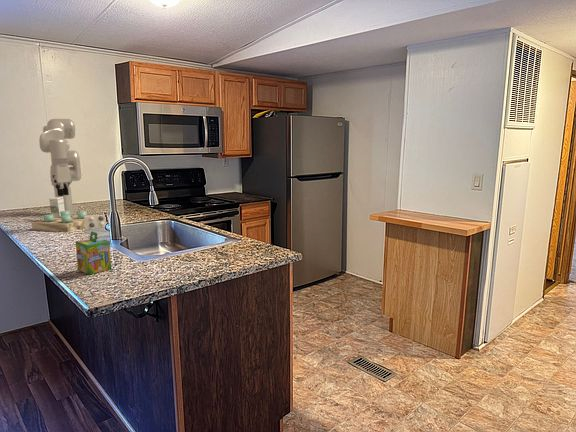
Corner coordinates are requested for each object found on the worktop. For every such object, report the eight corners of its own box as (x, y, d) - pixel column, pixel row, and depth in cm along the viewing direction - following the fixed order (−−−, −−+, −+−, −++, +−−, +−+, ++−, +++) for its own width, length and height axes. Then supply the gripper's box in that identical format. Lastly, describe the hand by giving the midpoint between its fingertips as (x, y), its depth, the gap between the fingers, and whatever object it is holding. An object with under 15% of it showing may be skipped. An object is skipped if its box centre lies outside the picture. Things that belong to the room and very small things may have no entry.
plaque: (85, 228, 229) (84, 216, 228) (108, 226, 234) (107, 214, 233) (85, 228, 228) (84, 216, 226) (108, 226, 233) (107, 214, 231)
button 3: (66, 221, 230) (65, 215, 229) (73, 222, 229) (72, 215, 228) (59, 223, 226) (58, 216, 225) (66, 224, 224) (66, 216, 224)
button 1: (49, 221, 233) (48, 214, 232) (55, 221, 232) (55, 214, 231) (42, 222, 229) (41, 215, 228) (49, 223, 227) (48, 216, 227)
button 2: (65, 217, 245) (64, 210, 244) (71, 217, 243) (71, 210, 243) (59, 218, 240) (58, 212, 239) (65, 219, 239) (65, 212, 238)
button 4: (82, 217, 241) (81, 211, 241) (88, 218, 240) (88, 211, 240) (75, 219, 237) (75, 212, 236) (82, 219, 236) (82, 213, 235)
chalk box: (77, 270, 155) (73, 233, 152) (101, 265, 162) (97, 228, 159) (88, 275, 150) (84, 236, 147) (112, 269, 157) (109, 232, 154)
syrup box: (66, 219, 256) (63, 196, 253) (60, 221, 250) (57, 198, 247) (57, 219, 256) (55, 196, 254) (51, 221, 251) (48, 197, 248)
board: (65, 221, 250) (64, 215, 249) (98, 223, 243) (98, 216, 243) (32, 229, 227) (31, 222, 226) (67, 232, 221) (67, 224, 220)
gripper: (65, 161, 230) (69, 193, 233) (41, 162, 214) (45, 197, 217) (76, 161, 228) (80, 193, 231) (53, 163, 212) (57, 197, 216)
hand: (63, 195), depth 224 cm, fingers open, 3 cm apart
